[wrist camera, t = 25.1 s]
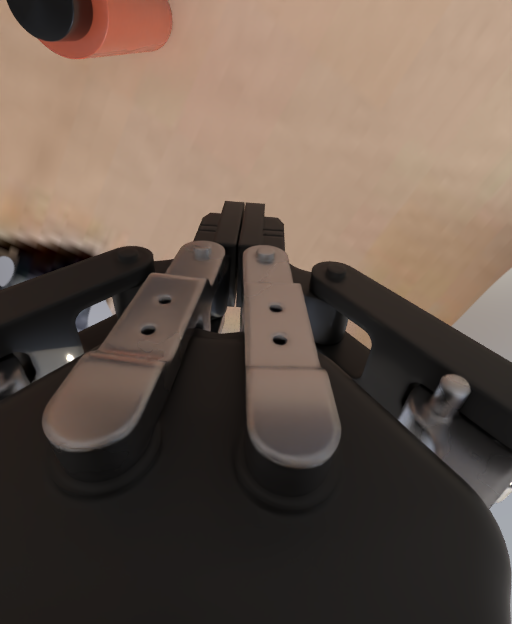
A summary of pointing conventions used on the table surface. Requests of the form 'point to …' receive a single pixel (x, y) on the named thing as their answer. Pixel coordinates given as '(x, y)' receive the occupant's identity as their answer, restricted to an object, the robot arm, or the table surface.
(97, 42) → the flask
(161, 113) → the table surface
